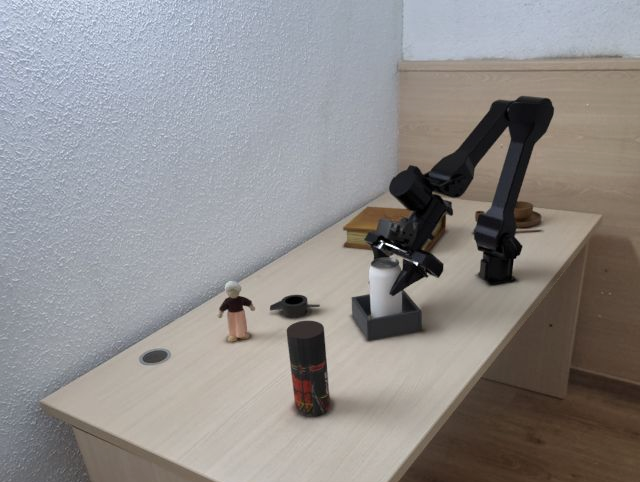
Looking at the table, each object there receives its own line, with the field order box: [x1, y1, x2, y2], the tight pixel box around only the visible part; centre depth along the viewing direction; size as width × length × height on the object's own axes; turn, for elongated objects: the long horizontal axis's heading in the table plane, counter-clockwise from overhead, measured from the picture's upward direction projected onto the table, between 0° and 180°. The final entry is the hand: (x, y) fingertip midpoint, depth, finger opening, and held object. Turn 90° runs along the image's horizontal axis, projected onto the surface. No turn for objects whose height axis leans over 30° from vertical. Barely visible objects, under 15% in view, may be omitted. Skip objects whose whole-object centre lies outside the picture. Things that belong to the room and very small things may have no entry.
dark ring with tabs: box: [269, 294, 321, 319], centre depth 135 cm, size 8×10×3 cm
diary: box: [342, 206, 447, 252], centre depth 168 cm, size 23×19×6 cm
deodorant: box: [286, 320, 331, 418], centre depth 101 cm, size 6×6×15 cm
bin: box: [350, 289, 423, 341], centre depth 127 cm, size 11×11×4 cm
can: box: [368, 257, 403, 318], centre depth 124 cm, size 6×6×12 cm
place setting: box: [472, 200, 542, 235], centre depth 172 cm, size 18×20×6 cm
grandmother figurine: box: [217, 280, 256, 343], centre depth 124 cm, size 8×4×13 cm, turn 117°
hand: (380, 289), depth 123 cm, fingers closed on can, 6 cm apart
